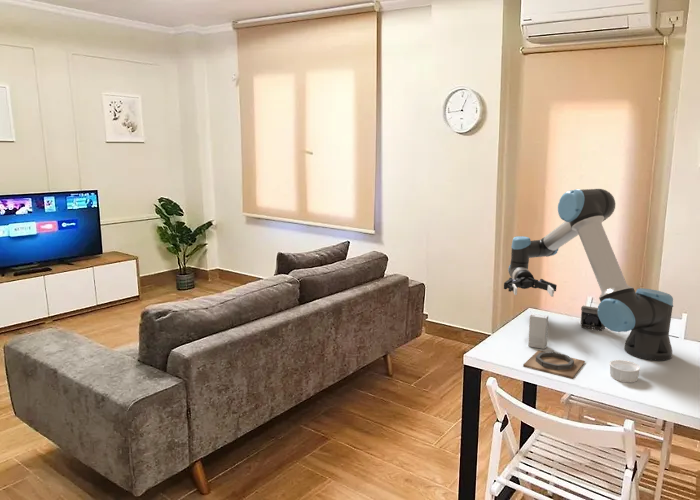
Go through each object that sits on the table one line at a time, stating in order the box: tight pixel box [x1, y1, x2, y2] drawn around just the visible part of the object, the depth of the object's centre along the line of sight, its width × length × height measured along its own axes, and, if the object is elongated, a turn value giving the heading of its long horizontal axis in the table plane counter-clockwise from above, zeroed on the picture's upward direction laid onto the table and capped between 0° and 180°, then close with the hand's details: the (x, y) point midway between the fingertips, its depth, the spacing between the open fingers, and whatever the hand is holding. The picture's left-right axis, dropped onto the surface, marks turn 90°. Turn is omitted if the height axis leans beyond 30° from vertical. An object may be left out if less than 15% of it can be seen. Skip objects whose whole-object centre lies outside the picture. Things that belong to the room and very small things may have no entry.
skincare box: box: [528, 312, 549, 350], centre depth 199 cm, size 6×4×12 cm
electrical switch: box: [580, 305, 606, 332], centre depth 218 cm, size 9×5×9 cm, turn 57°
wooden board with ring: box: [523, 349, 586, 379], centre depth 184 cm, size 16×16×2 cm
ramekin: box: [609, 359, 641, 384], centre depth 174 cm, size 9×9×4 cm
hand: (534, 292), depth 206 cm, fingers open, 13 cm apart
